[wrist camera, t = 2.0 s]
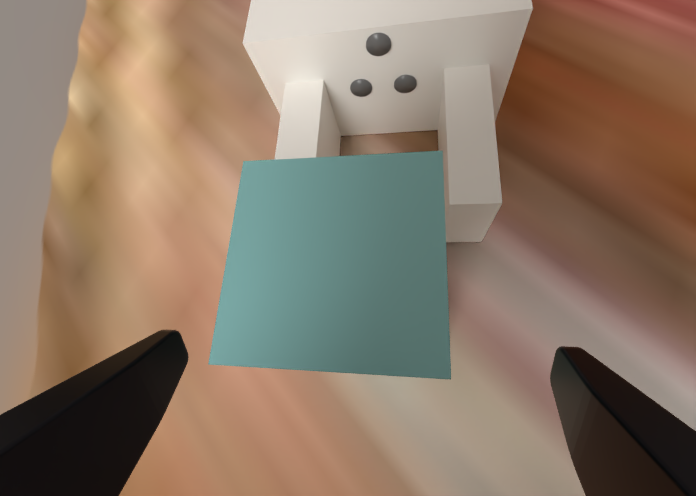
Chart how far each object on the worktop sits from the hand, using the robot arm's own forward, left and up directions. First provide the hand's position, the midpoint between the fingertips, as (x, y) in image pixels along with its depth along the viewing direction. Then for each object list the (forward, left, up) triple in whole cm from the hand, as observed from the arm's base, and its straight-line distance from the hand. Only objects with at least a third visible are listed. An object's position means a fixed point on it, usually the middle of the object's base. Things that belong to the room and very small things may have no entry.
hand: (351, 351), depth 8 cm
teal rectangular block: (+1, +1, -9) cm, 9 cm away
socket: (+10, +5, -9) cm, 14 cm away
